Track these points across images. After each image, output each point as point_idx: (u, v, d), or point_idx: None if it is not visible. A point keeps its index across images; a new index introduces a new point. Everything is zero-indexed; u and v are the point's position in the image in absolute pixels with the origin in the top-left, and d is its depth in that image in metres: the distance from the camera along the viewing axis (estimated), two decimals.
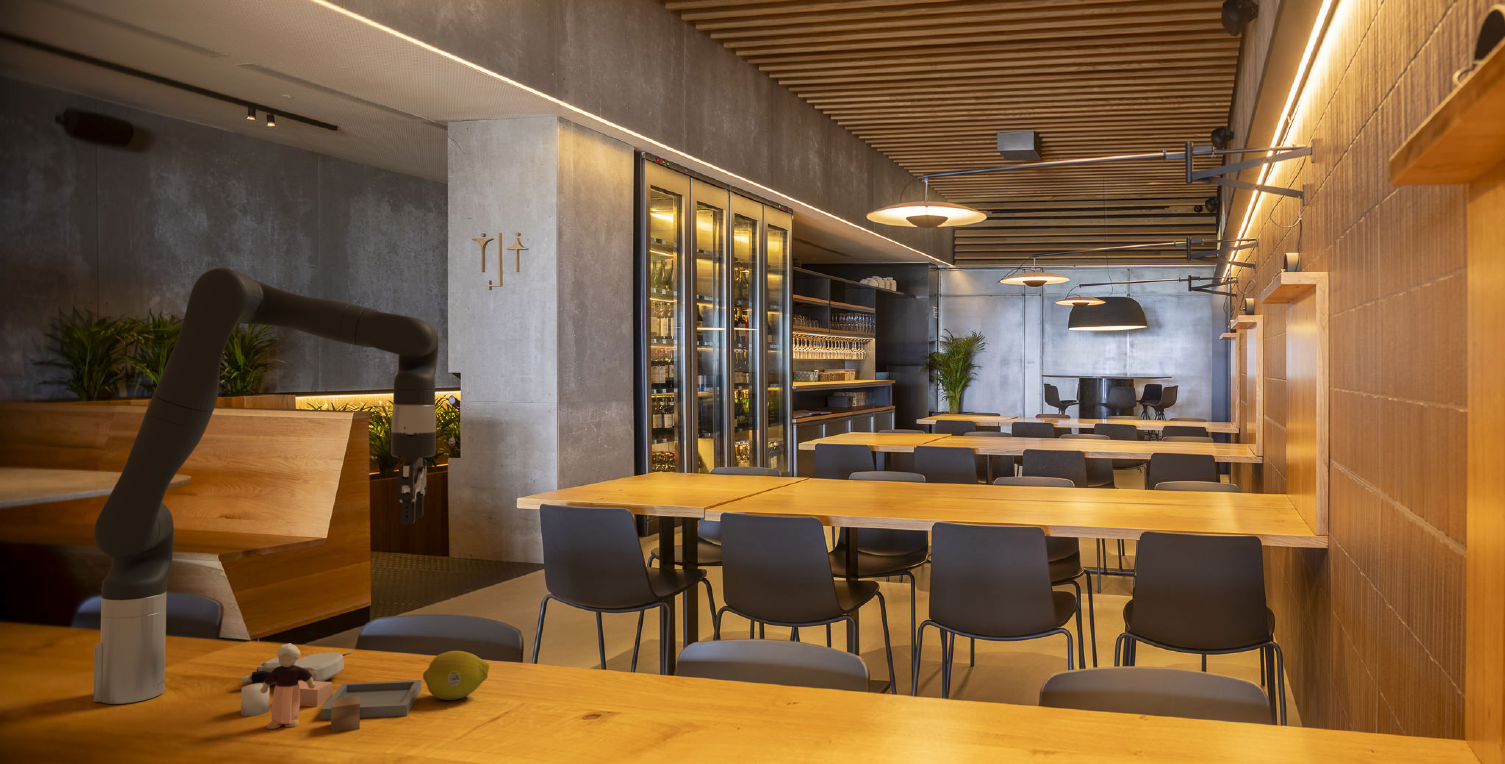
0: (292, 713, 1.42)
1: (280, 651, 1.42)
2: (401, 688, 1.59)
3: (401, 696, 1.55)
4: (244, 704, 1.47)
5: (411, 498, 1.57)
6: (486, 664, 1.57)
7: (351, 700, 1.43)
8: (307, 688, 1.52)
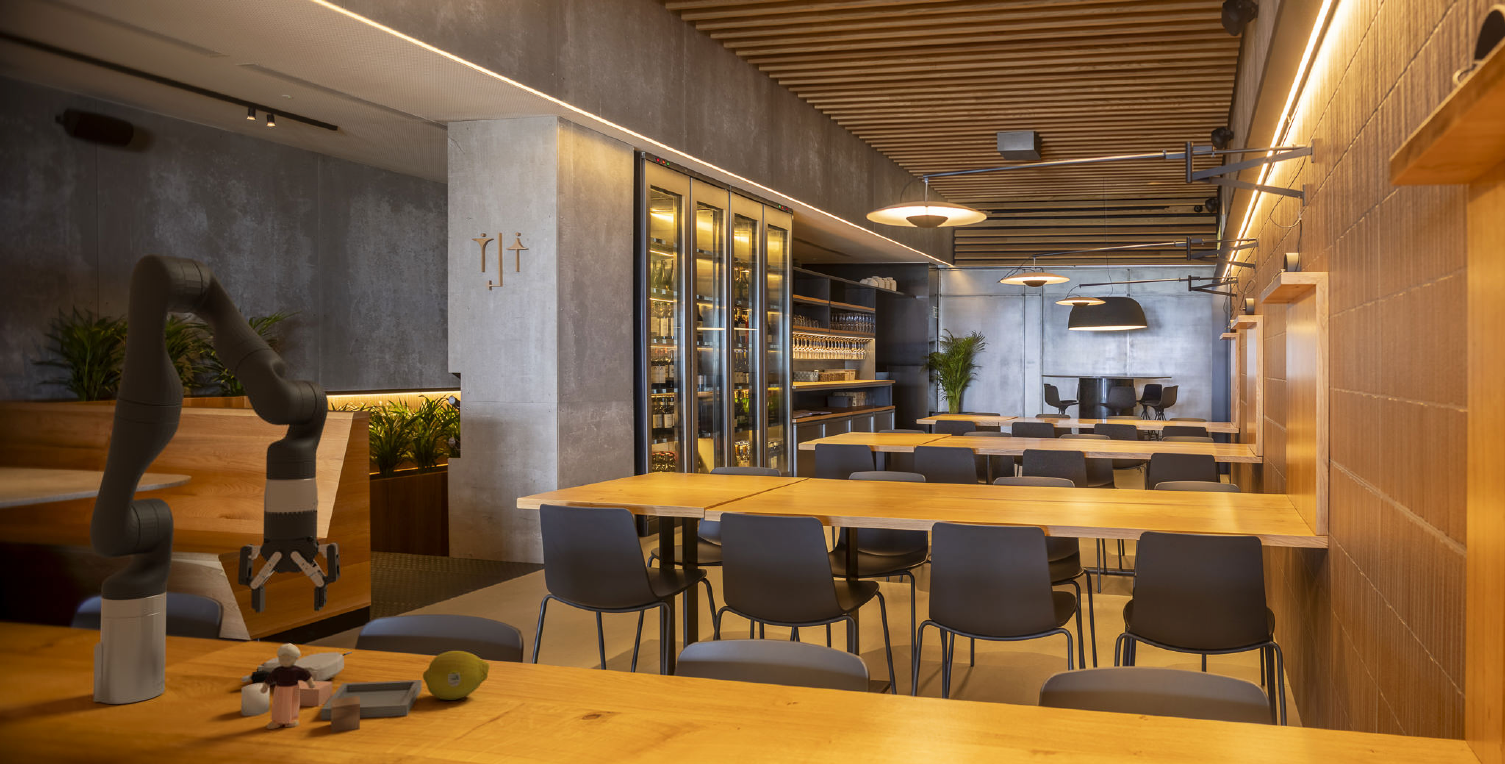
0: (292, 713, 1.42)
1: (280, 651, 1.42)
2: (401, 688, 1.59)
3: (401, 696, 1.55)
4: (245, 704, 1.47)
5: (339, 577, 1.45)
6: (486, 664, 1.57)
7: (351, 699, 1.43)
8: (308, 688, 1.52)
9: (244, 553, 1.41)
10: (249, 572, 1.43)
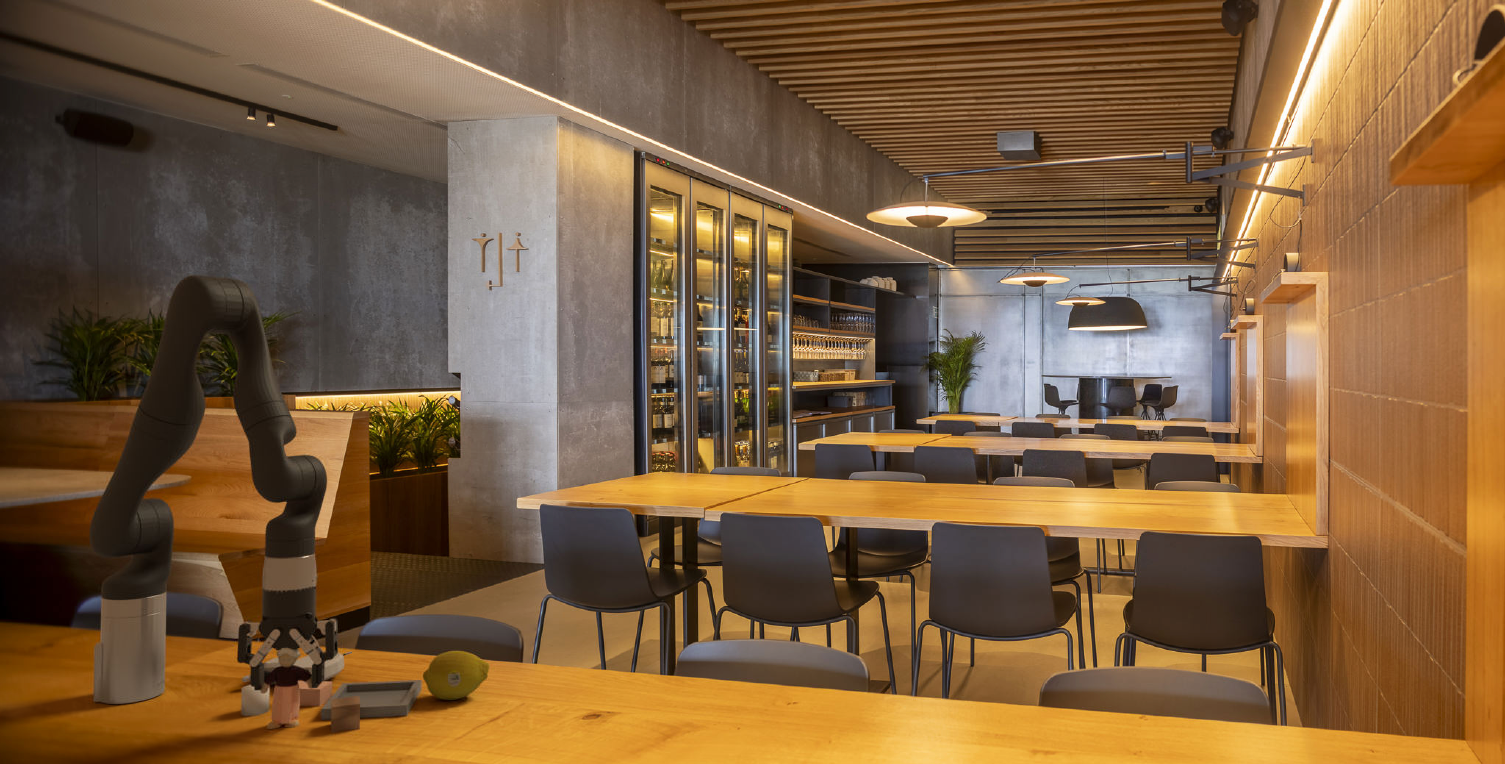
0: (292, 713, 1.42)
1: (279, 652, 1.42)
2: (401, 688, 1.59)
3: (401, 696, 1.55)
4: (245, 704, 1.47)
5: (336, 653, 1.45)
6: (486, 664, 1.57)
7: (351, 700, 1.43)
8: (309, 688, 1.52)
9: (243, 631, 1.41)
10: (248, 649, 1.43)
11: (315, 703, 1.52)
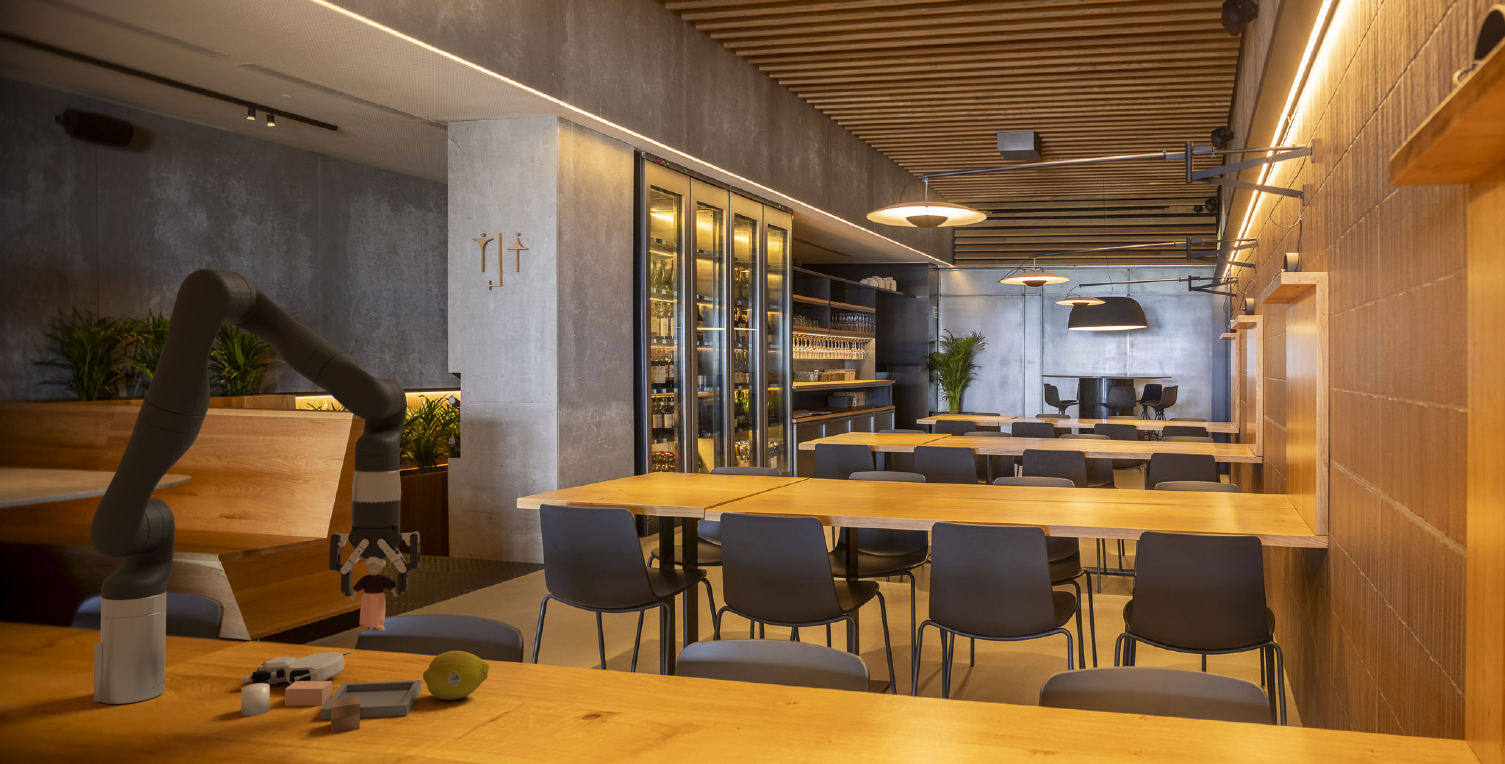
0: (379, 618, 1.52)
1: (367, 560, 1.52)
2: (401, 688, 1.59)
3: (401, 696, 1.55)
4: (245, 704, 1.47)
5: (419, 564, 1.55)
6: (486, 664, 1.57)
7: (351, 700, 1.43)
8: (310, 688, 1.52)
9: (334, 540, 1.51)
10: (338, 558, 1.53)
11: (317, 702, 1.52)
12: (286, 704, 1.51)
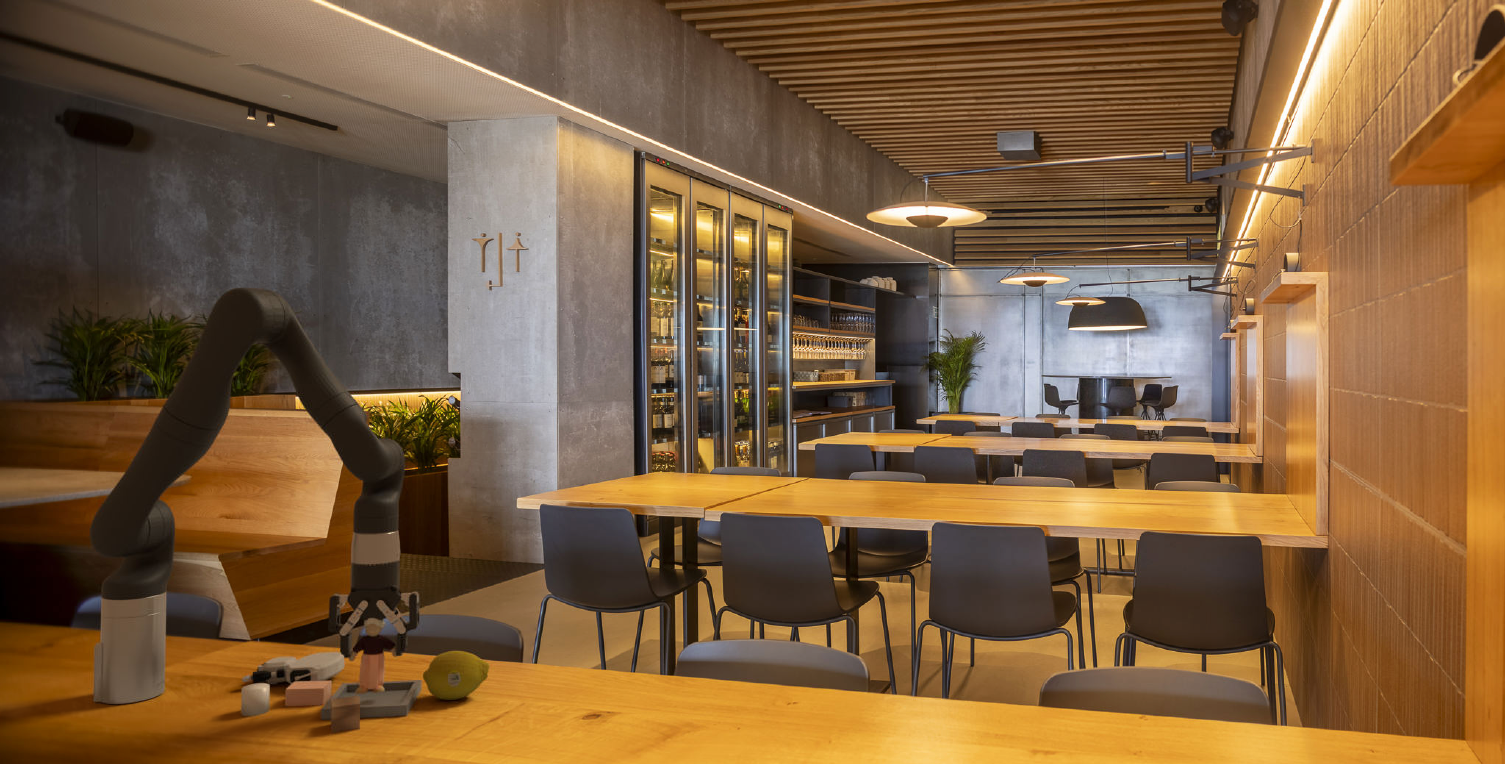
0: (378, 679, 1.52)
1: (367, 622, 1.51)
2: (401, 688, 1.59)
3: (401, 696, 1.55)
4: (245, 704, 1.47)
5: (418, 624, 1.55)
6: (486, 664, 1.57)
7: (351, 699, 1.43)
8: (311, 688, 1.52)
9: (333, 602, 1.50)
10: (337, 619, 1.52)
11: (318, 702, 1.52)
12: (286, 704, 1.51)
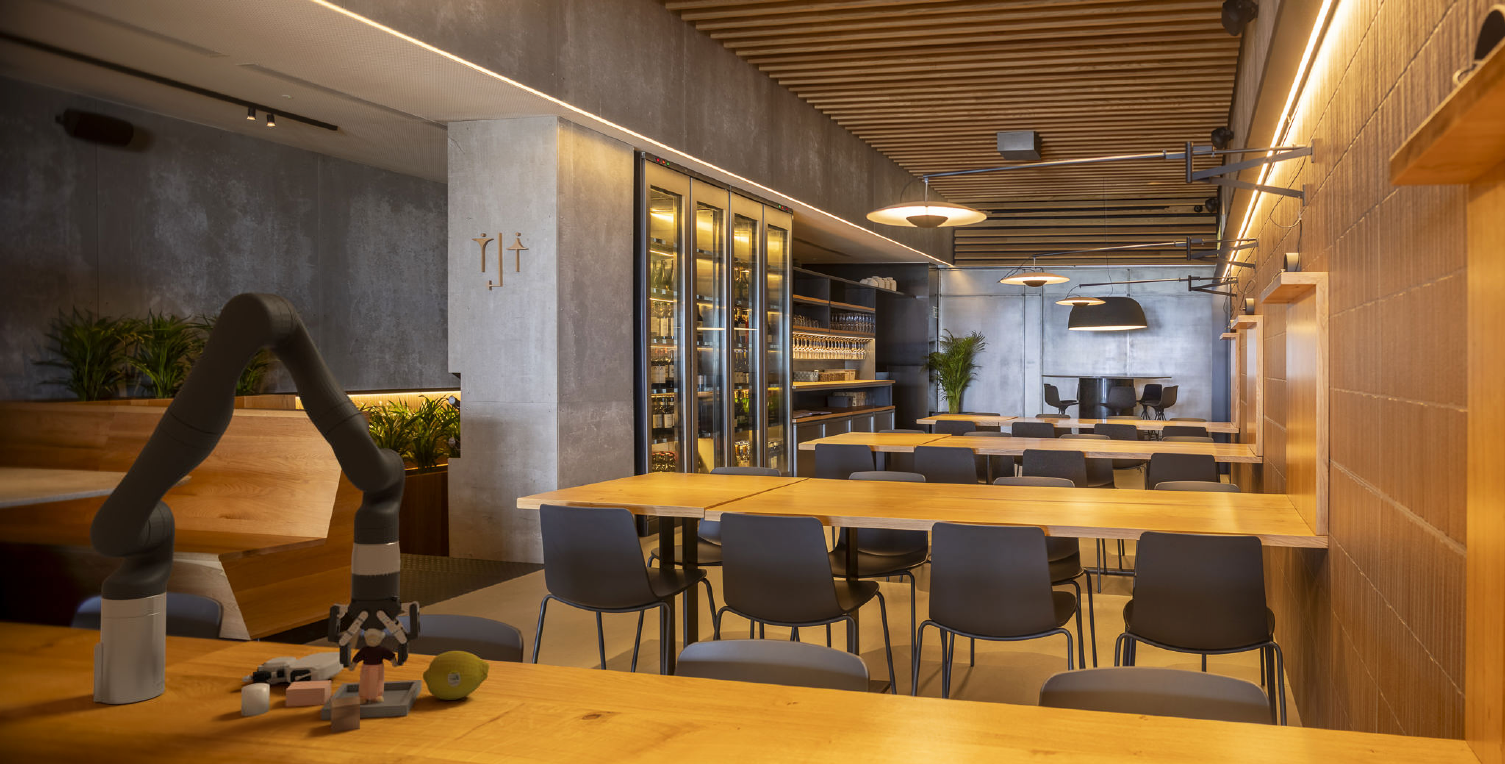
0: (378, 690, 1.52)
1: (367, 632, 1.52)
2: (401, 688, 1.59)
3: (401, 696, 1.55)
4: (244, 704, 1.47)
5: (419, 634, 1.55)
6: (486, 664, 1.57)
7: (351, 699, 1.43)
8: (312, 687, 1.52)
9: (333, 612, 1.51)
10: (337, 629, 1.52)
11: (319, 702, 1.52)
12: (287, 705, 1.51)
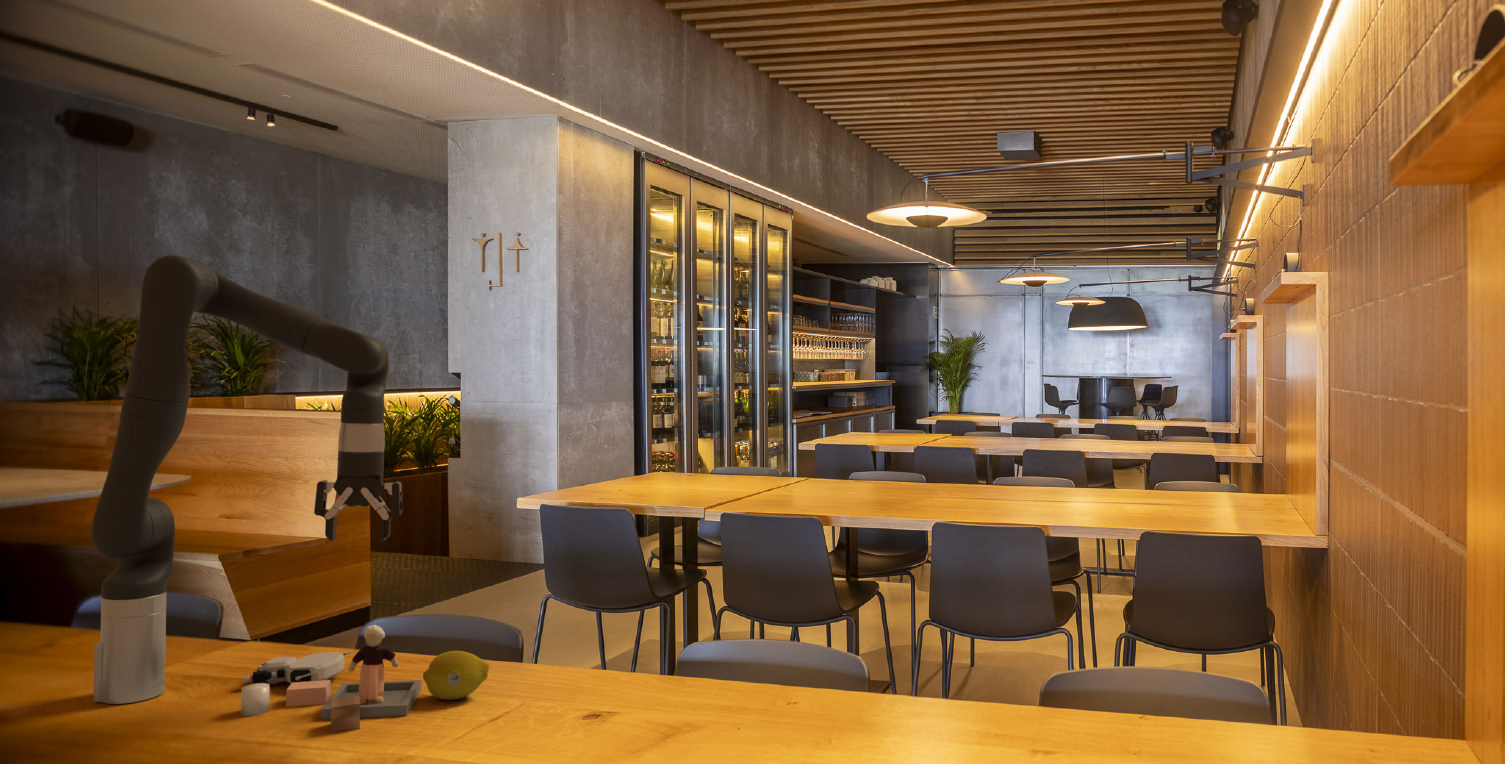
0: (378, 690, 1.52)
1: (367, 632, 1.52)
2: (401, 688, 1.59)
3: (401, 696, 1.55)
4: (244, 704, 1.47)
5: (401, 513, 1.63)
6: (486, 664, 1.57)
7: (351, 699, 1.43)
8: (312, 687, 1.52)
9: (320, 487, 1.59)
10: (323, 505, 1.61)
11: (320, 701, 1.52)
12: (287, 705, 1.51)
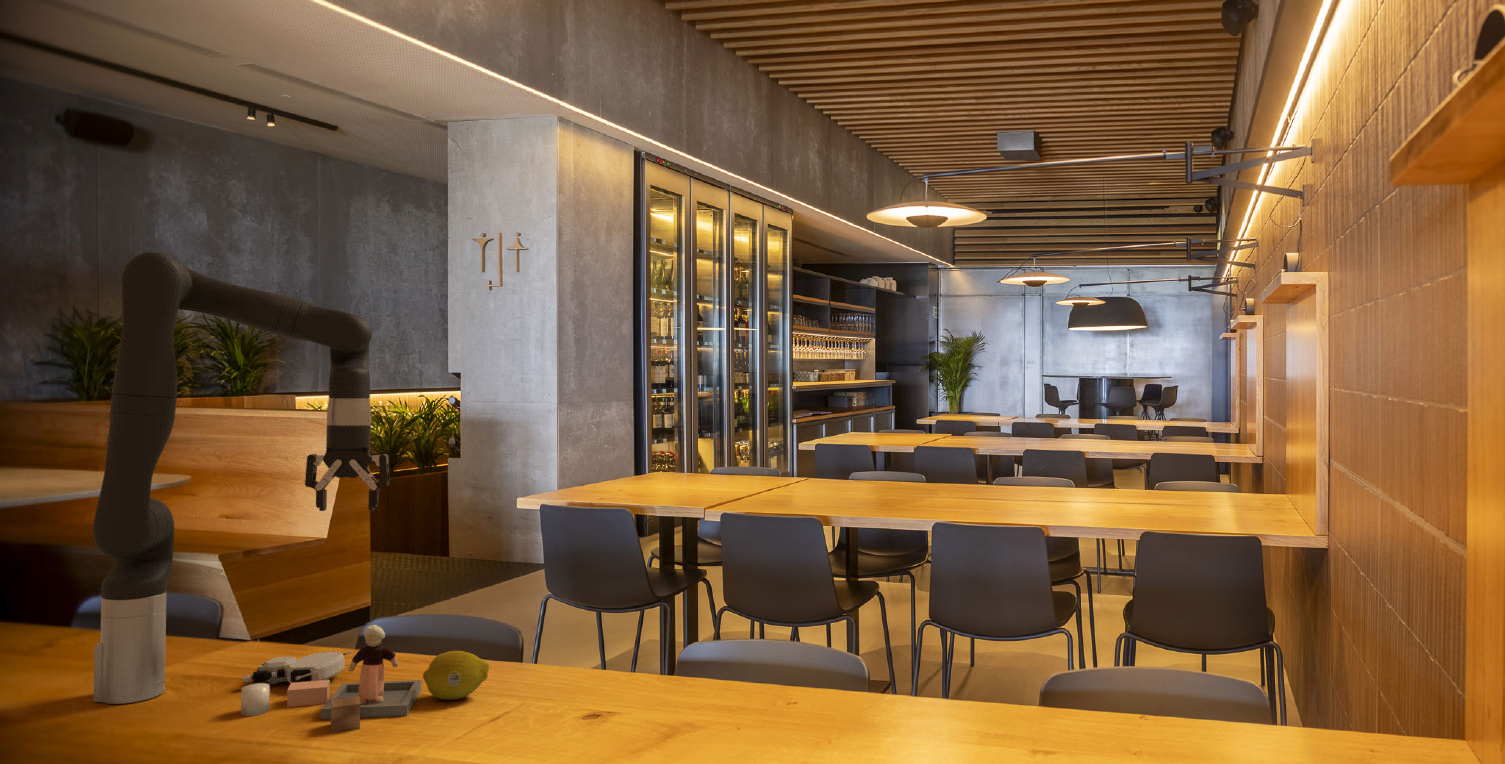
0: (378, 690, 1.52)
1: (367, 632, 1.52)
2: (401, 688, 1.59)
3: (401, 696, 1.55)
4: (244, 704, 1.47)
5: (389, 483, 1.71)
6: (486, 664, 1.57)
7: (351, 699, 1.43)
8: (313, 687, 1.52)
9: (310, 460, 1.67)
10: (313, 477, 1.69)
11: (322, 701, 1.52)
12: (288, 705, 1.51)
